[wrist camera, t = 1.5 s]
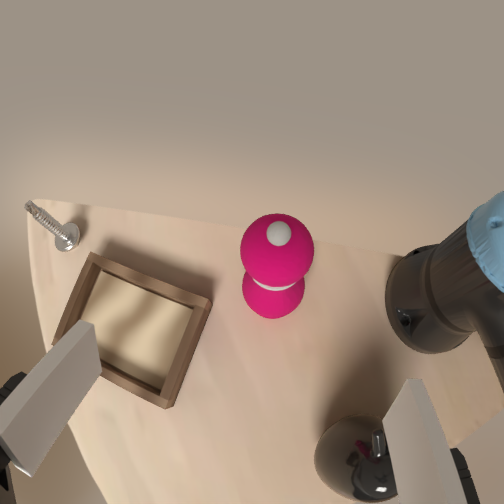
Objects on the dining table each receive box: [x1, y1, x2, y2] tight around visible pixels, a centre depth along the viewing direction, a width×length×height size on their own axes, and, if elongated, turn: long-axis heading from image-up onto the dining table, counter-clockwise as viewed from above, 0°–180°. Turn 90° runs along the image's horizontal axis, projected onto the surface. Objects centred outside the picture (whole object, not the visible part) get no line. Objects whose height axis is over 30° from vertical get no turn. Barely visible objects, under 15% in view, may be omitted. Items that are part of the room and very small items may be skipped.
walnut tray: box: [51, 252, 213, 409], centre depth 38 cm, size 18×14×4 cm
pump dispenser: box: [314, 414, 398, 503], centre depth 26 cm, size 10×10×15 cm
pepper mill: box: [240, 214, 314, 319], centre depth 31 cm, size 7×7×20 cm
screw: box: [25, 201, 80, 252], centre depth 39 cm, size 13×5×5 cm
